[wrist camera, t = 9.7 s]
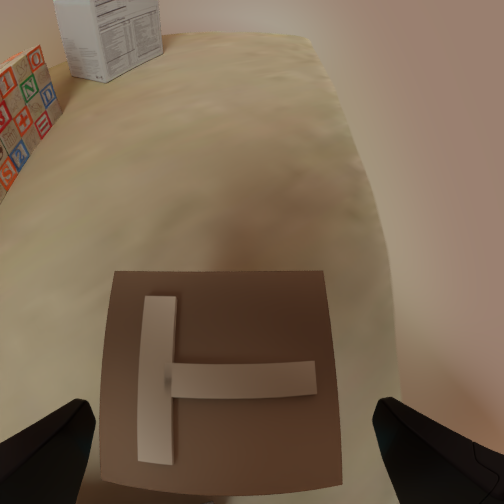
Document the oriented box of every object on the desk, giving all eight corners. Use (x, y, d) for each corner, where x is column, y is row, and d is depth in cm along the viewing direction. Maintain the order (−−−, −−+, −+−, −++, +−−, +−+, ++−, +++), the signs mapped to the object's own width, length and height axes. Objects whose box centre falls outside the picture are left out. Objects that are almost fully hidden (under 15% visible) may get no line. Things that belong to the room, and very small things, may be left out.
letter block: (273, 438, 15) (345, 486, 4) (188, 439, 14) (97, 481, 4) (270, 359, 17) (325, 266, 7) (187, 360, 17) (111, 267, 6)
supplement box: (165, 53, 42) (159, -33, 27) (106, 84, 36) (87, -14, 21) (123, 48, 45) (113, -24, 30) (70, 77, 39) (51, -1, 24)
